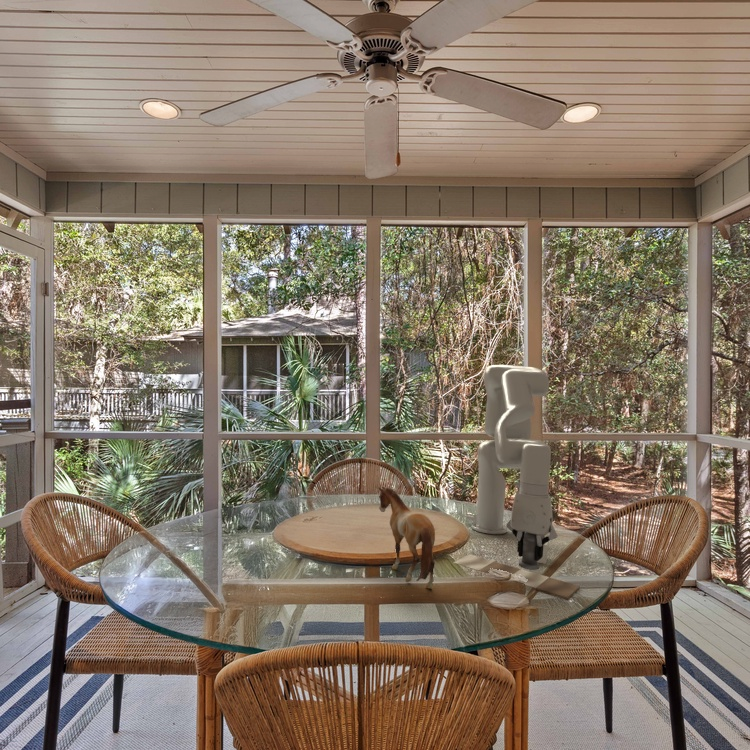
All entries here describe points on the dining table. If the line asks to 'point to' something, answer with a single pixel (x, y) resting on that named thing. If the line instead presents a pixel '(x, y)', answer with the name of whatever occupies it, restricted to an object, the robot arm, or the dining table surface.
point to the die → (544, 554)
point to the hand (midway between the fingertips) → (529, 556)
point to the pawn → (529, 552)
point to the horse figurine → (410, 533)
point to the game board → (534, 580)
